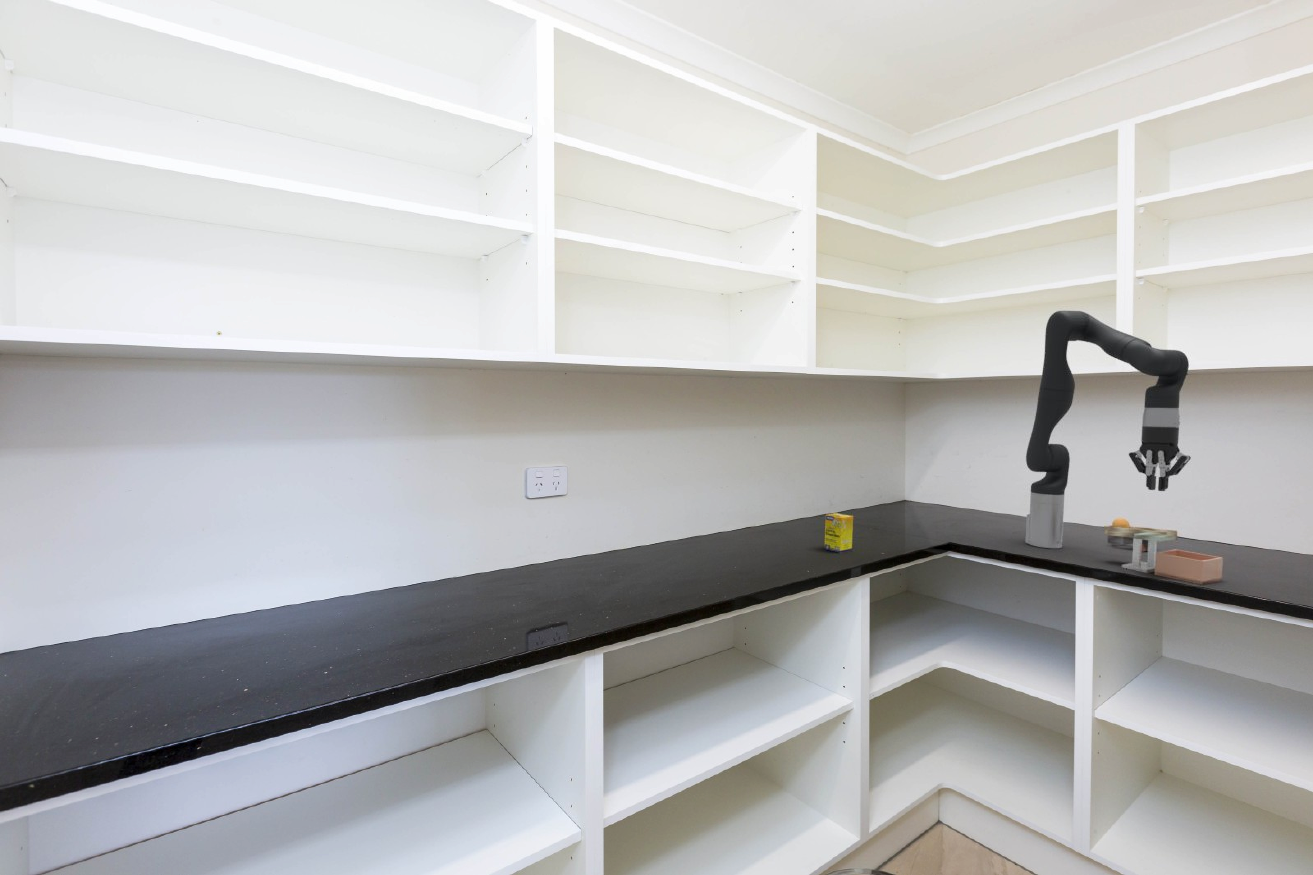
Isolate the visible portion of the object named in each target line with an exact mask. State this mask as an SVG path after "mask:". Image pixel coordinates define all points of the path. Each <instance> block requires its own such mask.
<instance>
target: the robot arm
mask: <svg viewBox="0 0 1313 875" xmlns="http://www.w3.org/2000/svg"><path fill="white" fill-rule="evenodd" d="M1044 334H1045V335H1044V336H1045V338H1044V355H1043V356H1044V359H1043V365H1042V366H1043V367H1042V374H1041V380H1040V384H1039V388H1038V389H1039V390H1038V395H1037V396H1038V397H1037V405H1036V410H1035V411H1036V412H1035V416H1034V417H1035V418H1034V422H1033V423H1034V424H1033V426H1032V431H1031V434H1030V437H1029V441H1028V445H1027V449H1026V454H1025V455H1026V456H1025V461H1026V466H1027V468H1028V469H1029V471H1032V472H1033V473H1045V476H1044V477H1043V478H1041V479H1039V480H1038V481H1037V480H1036V481H1034V482H1033V483H1031V485H1030V501H1029V514H1026V518H1025V519H1026V520H1025V521H1026V522H1025V526H1026V527H1025V544H1029V546H1030V545H1031V546H1032V547H1033V546H1034V547H1038V548H1044V549H1045V548H1046V549H1061V548H1063V532H1064V515H1065V514H1064V512H1065V511H1064V510H1065V491H1066V488H1067V485H1068V479H1069V472H1070V461H1071V458H1070V452H1069V449H1068V448H1067V446H1065V445H1064V444H1060V443H1050V438H1051V436H1052V433H1053V431H1054V429H1055V428H1056V426H1057V425H1058V423H1059V422H1060V421H1061V420H1062V419H1063V418H1064V417H1065V416H1066V414H1067V413H1068V412H1069V410H1070V408H1071V406H1072V405H1073V402H1074V395H1075V390H1076V389H1075V388H1076V382H1075V378H1074V375H1073V372H1072V371H1071V369H1070V365H1069V362H1068V358H1067V357H1068V356H1067V354H1068V353H1067V352H1068V346H1069V342H1076V341H1077V342H1078V341H1079V342H1086V343H1090V344H1093V345H1096V346H1098V347H1099V348H1100V349H1102V351H1103V352H1104V353H1105V354H1106V355H1108V356H1110V357H1112V358H1114V359H1117V360H1119V361H1121V362H1123V363H1126V364H1128V365H1129V366H1131V367H1133V368H1134V369H1135V370H1137V371H1138V372H1140V373H1142V374H1145V375H1148V376H1152V377H1158V378H1157V380H1156V382H1155V385H1151V386H1149V387H1147V388H1146V390H1145V394H1144V406H1143V407H1144V408H1143V413H1142V425H1141V445H1140V446H1139V449H1138V450H1136V451H1133V452H1129V453H1128V457H1129V458H1130V460H1131V461H1132V463H1133V465H1134V466H1135V468H1136V470H1137V471H1138V473H1142V474H1144V475H1145V477H1146V479H1145V480H1146V481H1145V486H1146V488H1147V490H1149V491H1155V490H1156V488H1157V490H1158V492H1165V491H1166V490H1168V489H1169V488H1168V487H1169V480H1170V479H1169V478H1170V477H1172V476H1177V475H1179V473H1180V472H1181V471H1182V470H1183V469H1184V467H1185V466H1186V465H1187V464H1188V462H1189V461H1190V460H1191V456H1190V455H1186V454H1184V453H1182V452H1181V450H1180V448H1179V446H1178V445H1179V435H1180V434H1179V433H1180V432H1179V431H1180V424H1181V422H1180V417H1181V416H1180V409H1179V408H1180V393H1181V390H1182V387H1183V385H1184V383H1185V379H1186V377H1187V375H1188V371H1189V366H1190V365H1189V358H1188V357H1187V355H1186V353H1184V352H1183V351H1181V350H1177V349H1163V348H1162V349H1159V348H1156V347H1153V346H1152V344H1151V343H1149V341H1146V340H1145V339H1142V338H1139V337H1136V336H1133V335H1132V334H1128V333H1125V332H1123V331H1120V330H1119V329H1118V330H1117V329H1115V328H1113V327H1111V326H1109V325H1107V324H1106V323H1103V322H1102V321H1100V320H1099V319H1097V318H1095V317H1094V316H1092V315H1091V314H1089V313H1087V312H1085V311H1082V310H1057V311H1055V312H1053V313H1052V314H1051V315H1050V316H1049V318H1048V320H1047V323H1046V327H1045V333H1044ZM1142 458H1144V459H1145V460H1146V461H1145V462H1144V460H1143V459H1142ZM1174 459H1175V461H1176V462H1175V463H1174V464H1173V465H1172V461H1173V460H1174ZM1157 468H1159V476H1158V487H1157V486H1156V484H1157Z"/></svg>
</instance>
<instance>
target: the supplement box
mask: <svg viewBox="0 0 1313 875" xmlns="http://www.w3.org/2000/svg"><path fill="white" fill-rule="evenodd" d="M853 522H854V515H849V514H848V515H847V514H843V513H839V512H836V513H830V514H825V524H824V525H825V526H824V527H825V528H824V550H826V551H830V552H833V553H834V552H835V553H837V554H838V553H839V554H842V553H843V554H844V553H849V552H852V549H853V529H854V528H853V527H854V526H853V525H854V523H853Z"/></svg>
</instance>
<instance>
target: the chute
mask: <svg viewBox="0 0 1313 875" xmlns="http://www.w3.org/2000/svg"><path fill="white" fill-rule="evenodd" d="M1103 528H1104V530H1103V533H1104V535H1105V536H1107V544H1111V545H1118V546H1122V545H1124V546H1127V545H1128V546H1129V545H1133V534H1134V539H1141V540H1150V541H1157V542H1171V541H1176V540H1178V531H1177V530H1173V529H1163V528H1152V527H1144V526H1143V527H1141V526H1133V525H1132V526H1131V525H1130V527H1129V528H1119V527H1113V526H1112V524H1111V525H1104V527H1103ZM1135 533H1137V534H1135Z"/></svg>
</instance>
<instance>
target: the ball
mask: <svg viewBox="0 0 1313 875" xmlns="http://www.w3.org/2000/svg"><path fill="white" fill-rule="evenodd" d="M1111 525H1112V526H1113V527H1119V528H1129V527H1130V526H1131V524H1130V522H1129V521H1128V520H1127V519H1125V518H1120V517H1118V518H1116V519H1113V522H1112V524H1111Z"/></svg>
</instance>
